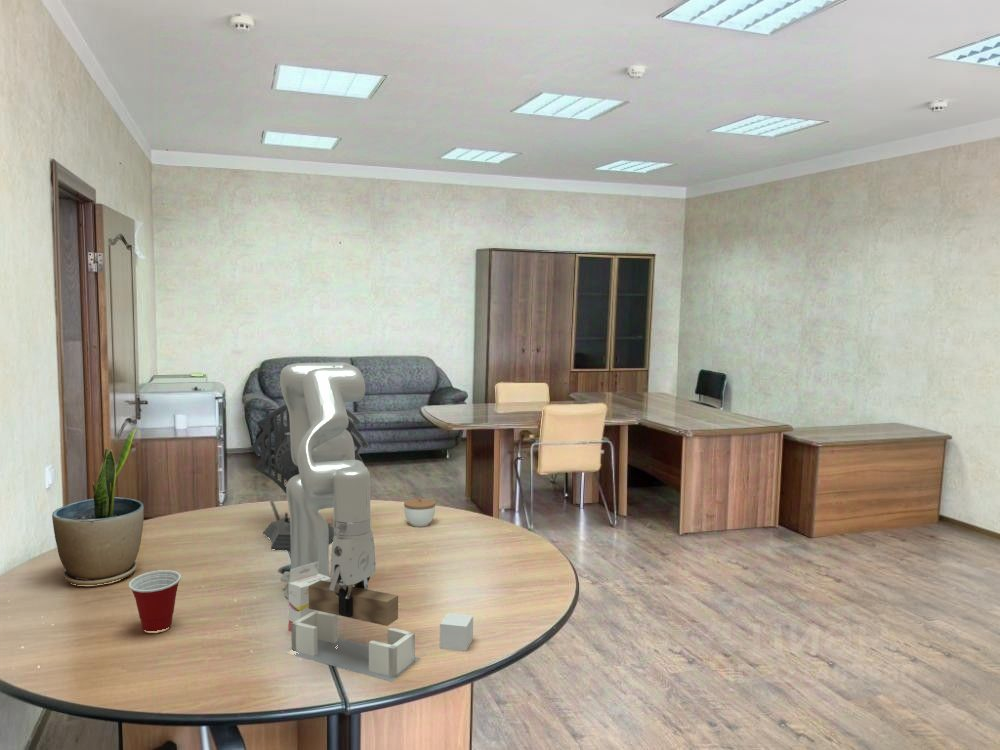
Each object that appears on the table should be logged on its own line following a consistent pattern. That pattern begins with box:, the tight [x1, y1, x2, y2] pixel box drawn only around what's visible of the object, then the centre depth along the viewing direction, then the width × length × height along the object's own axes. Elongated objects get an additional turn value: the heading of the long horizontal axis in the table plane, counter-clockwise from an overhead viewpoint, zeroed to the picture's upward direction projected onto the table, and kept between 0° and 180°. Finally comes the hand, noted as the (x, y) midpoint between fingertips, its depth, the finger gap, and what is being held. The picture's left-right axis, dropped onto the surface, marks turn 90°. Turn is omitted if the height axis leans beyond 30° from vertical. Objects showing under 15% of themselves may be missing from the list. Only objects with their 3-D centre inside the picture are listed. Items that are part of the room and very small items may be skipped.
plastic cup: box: [128, 569, 182, 631], centre depth 169 cm, size 11×11×12 cm
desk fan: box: [250, 404, 369, 552], centre depth 240 cm, size 34×33×45 cm
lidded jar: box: [403, 496, 436, 528], centre depth 255 cm, size 11×11×9 cm
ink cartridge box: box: [288, 562, 332, 632], centre depth 171 cm, size 9×5×15 cm, turn 141°
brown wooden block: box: [309, 580, 399, 627], centre depth 156 cm, size 20×4×5 cm, turn 65°
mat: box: [293, 637, 421, 682], centre depth 158 cm, size 27×11×1 cm, turn 65°
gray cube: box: [439, 612, 474, 652], centre depth 164 cm, size 6×6×6 cm
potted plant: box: [51, 428, 145, 585], centre depth 199 cm, size 21×22×40 cm
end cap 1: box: [290, 610, 338, 656], centre depth 162 cm, size 6×8×6 cm
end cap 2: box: [368, 627, 416, 677], centre depth 153 cm, size 6×8×6 cm
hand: (352, 610), depth 157 cm, fingers closed on brown wooden block, 4 cm apart
